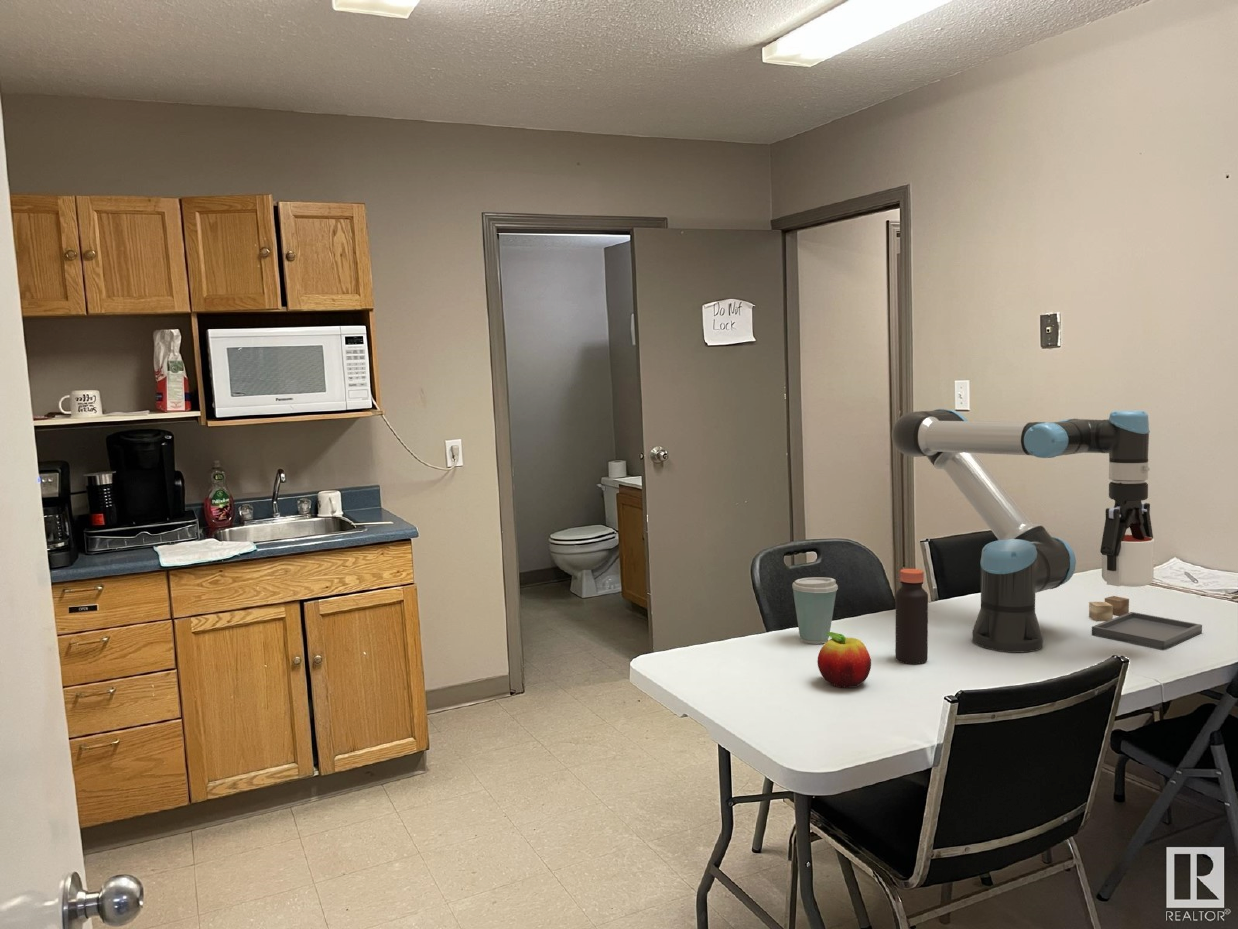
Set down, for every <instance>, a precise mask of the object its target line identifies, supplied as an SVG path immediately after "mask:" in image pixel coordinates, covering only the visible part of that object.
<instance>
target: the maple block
mask: <svg viewBox="0 0 1238 929" xmlns="http://www.w3.org/2000/svg"><path fill="white" fill-rule="evenodd" d="M1088 604H1089V605H1088V606H1089V607H1088V617H1089V619H1092V620H1093V621H1095V622H1106V621H1108V620H1111V619H1113V618H1114V615H1113V606H1112V605H1111V604H1109V603H1107V602H1105V601H1089V602H1088Z"/></svg>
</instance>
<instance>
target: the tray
mask: <svg viewBox="0 0 1238 929" xmlns="http://www.w3.org/2000/svg"><path fill="white" fill-rule="evenodd" d="M1202 633H1203V624H1200V623H1195V622H1189V621H1183V620H1179V619H1173V618H1168V617H1163V616H1156V615H1152V614H1146V613H1139V612H1136V611H1129V613H1127V614H1124V615H1121V616H1116V617H1113V619H1111V620H1108V621H1102V622H1101V623H1097V624H1095V625H1092V626H1091V636H1094V637H1095V636H1096V637H1098V638H1099V637H1100V638H1105V639H1110V640H1114V641H1119V642H1124V643H1129V644H1132V645H1133V644H1134V645H1138V646H1143V647H1147V648H1152V649H1157V650H1162V651H1164V650H1168V649H1170V648H1172V647H1174V646H1176V645H1179V644H1181V643H1183V642H1185V641H1187V640H1190V639H1192V638H1194V637H1196V636H1199V635H1200V634H1202Z"/></svg>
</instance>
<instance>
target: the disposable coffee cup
mask: <svg viewBox="0 0 1238 929" xmlns="http://www.w3.org/2000/svg"><path fill="white" fill-rule="evenodd" d="M791 587H792V592H793V599H794V606H795V613H796V620H797V626H798V634H799V637H800V640H801V642H803V643H806V644H814V645H816V644H817V645H820V644H825V643H826V642H827V641H829V638H830V636H828V635H827V633H828V632H831V627H832V621H833V615H834V608H835V603H836V602H835V601H836V597H837V596H836V594H837V590H839V586H838V584H837V583H836V579H834V578H832V577H819V576H818V577H816V576H815V577H814V576H813V577H803V578H798V579H796V580H794V582H792V586H791Z"/></svg>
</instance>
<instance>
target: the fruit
mask: <svg viewBox="0 0 1238 929" xmlns="http://www.w3.org/2000/svg"><path fill="white" fill-rule="evenodd" d="M827 635H828V636H829V638H830V639H828V641H827V642H826V643H823V645H822V646H821V648H820V650H819V653H818V656H817V661H816V662H817V668H818V670H819V673H820V675H821V676H822V678H823V679H824V681H826V682H827V683H828V684H829V685H831V686H833V687H836V688H837V687H838V688H846V689H847V688H855V687H858V686H860V685H861V684H862V683H864V682H865V681H866V680H867V678H868V676H869V675H870V672H871V669H872V659H871V655H870V653H869V651H868V648H867V647H866V645H865V643H864V642H862V641H861V640H860V639H858V638H856V637H845V635H844V634H842V633H838V632H834V631H830V632H828V633H827Z"/></svg>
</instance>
